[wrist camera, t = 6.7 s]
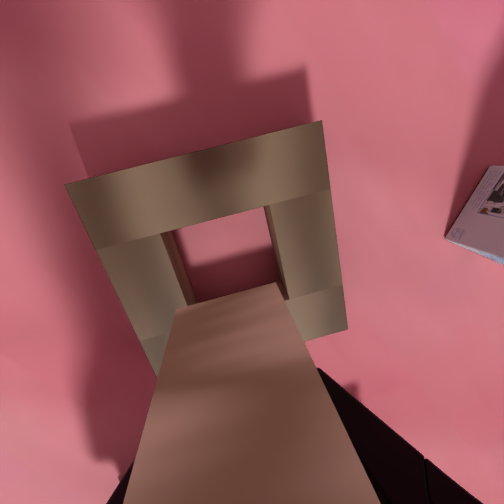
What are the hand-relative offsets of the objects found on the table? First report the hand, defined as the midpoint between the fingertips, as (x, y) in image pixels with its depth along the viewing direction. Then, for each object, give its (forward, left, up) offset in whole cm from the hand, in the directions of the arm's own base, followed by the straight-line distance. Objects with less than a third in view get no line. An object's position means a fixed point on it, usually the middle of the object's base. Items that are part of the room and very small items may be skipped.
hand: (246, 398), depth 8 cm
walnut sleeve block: (0, 0, -13) cm, 13 cm away
